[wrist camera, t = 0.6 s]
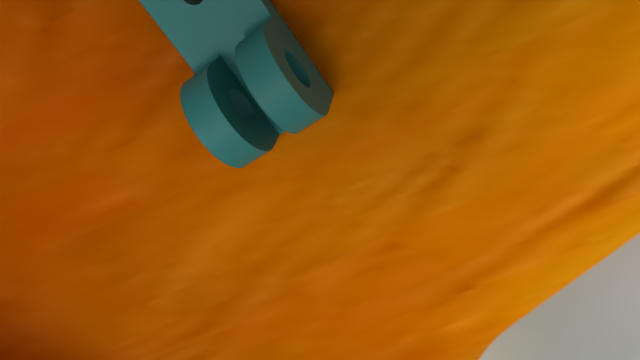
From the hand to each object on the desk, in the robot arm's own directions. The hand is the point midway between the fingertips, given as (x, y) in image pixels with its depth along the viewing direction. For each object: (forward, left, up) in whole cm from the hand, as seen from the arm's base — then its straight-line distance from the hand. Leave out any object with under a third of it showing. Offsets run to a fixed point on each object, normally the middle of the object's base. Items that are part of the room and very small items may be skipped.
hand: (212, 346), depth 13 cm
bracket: (-4, -7, -27) cm, 28 cm away
